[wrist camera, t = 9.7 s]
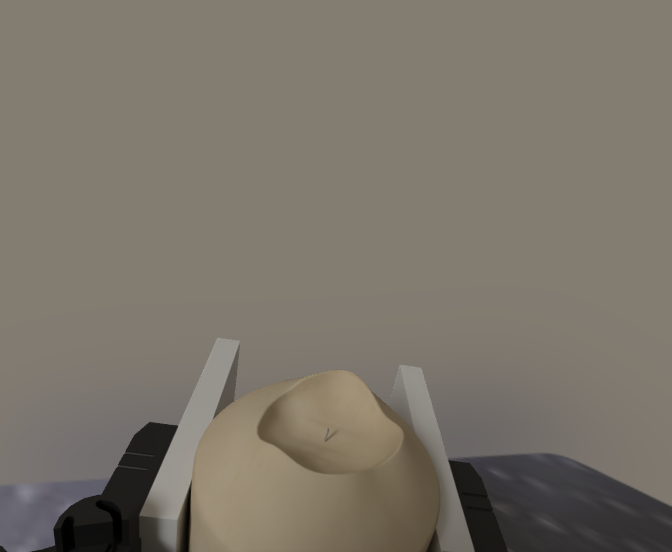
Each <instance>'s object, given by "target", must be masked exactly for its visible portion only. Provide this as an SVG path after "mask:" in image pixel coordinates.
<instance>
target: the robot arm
mask: <svg viewBox="0 0 672 552" xmlns="http://www.w3.org/2000/svg"><path fill="white" fill-rule="evenodd" d="M239 347H240V341H236V340H229V339H223V338H217V340H216V342H215V345H214V347H213V350H212V351H211V354H210V356H209V359H208V361H207V363H206V365H205V367H204V370H203V372H202V374H201V376H200V379H199V381H198V383H197V386H196V388H195V390H194V392H193V395H192V397H191V399H190V402H189V404H188V406H187V408H186V410H185V413H184V415H183V417H182V420H181V422H180V424H179V426H176V425H168V424H160V423H153V422H149V423H148V424H147V425H146V426H144V427H143V428H142V429H141V430H140V431H139V432H138V433H136V434H135V435H134V437H133V438H132V440H131V442H130V444H129V446H128V448H127V449H126V452H125V454H124V455H123V457H122V458H121V460H120V462H119V464H118V467H117V468H116V469H115V471H114V473H113V475H112V477H111V478H110V480H109V482H108V484H107V486H106V487H105V489H104V491H103V493H102V495H96V496H92V497H88V498H84V499H82V500H80V501H79V502H77V503H75V504H73V505H71V506H70V507H69V508H68V509H67V510H66V511H65V512H64V513H63V514H62V515H61V516H60V517H59V519H58V521H57V523H56V525H55V527H54V529H53V530H54V538H55V546H52V547H49V548H45V549H42V550H37V551H32V552H187V549H188V533H189V517H190V501H191V486H192V471H193V463H194V457H195V453H196V450H197V447H198V444H199V441H200V439H201V437H202V435H203V433H204V432H205V430H206V428H207V427H208V426H209V424H210V423H211V422H212V420H213V419H214V418H215V417H216V416H217V415H218V414H219V413H220V412H221V411H222V410H223V409H225V408H226V407H227V406H228V405H230V404H231V403H232V402H234V395H235V386H236V376H237V366H238V357H239ZM388 406H389V407H390V408H391V409H392V410H393V411H395V412H396V413H397V414H398V415H399V416H400V417H401V418H402V419H403V420H404V421H405V422H406V424H407V425H408V426H409V427H410V428H411V429H412V430H413V432H414V433H415V434H416V436H417V437H418V438H419V440H420V441H421V442H422V444H423V445H424V447H425V449H426V450H427V452H428V454H429V455H430V458H431V460H432V462H433V465H434V467H435V470H436V473H437V477H438V480H439V487H440V512H439V517H438V522H437V525H436V528H435V531H434V533H433V536H432V538H431V541H430V544H429V546H428V548H427V551H426V552H508V551H507V548H506V545H505V542H504V540H503V537H502V534H501V531H500V529H499V526H498V523H497V520H496V517H495V515H494V513H493V512H492V510H493V509H492V506H491V504H490V501H489V499H488V498H487V496H488V495H487V493H486V490H485V487H484V484H483V481H482V479H481V477H480V476H479V475H478V473H477V472H476V471H475V470H474V468H473V467H472V466H471V464H470V463H465V462H458V461H450V460H448V458H447V455H446V452H445V448H444V444H443V441H442V438H441V434H440V431H439V427H438V424H437V421H436V417H435V414H434V410H433V407H432V403H431V400H430V396H429V393H428V390H427V386H426V383H425V379H424V376H423V373H422V369H421V368H419V367H412V366H405V365H400V366H399V370H398V373H397V377H396V380H395V383H394V387H393V390H392V394H391V397H390V401H389V404H388ZM0 552H7V551H6V550H5V549H4V548H3V547H2V546H0Z"/></svg>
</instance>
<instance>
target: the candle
mask: <svg viewBox="0 0 672 552" xmlns="http://www.w3.org/2000/svg"><path fill="white" fill-rule="evenodd" d="M439 512H440V487H439V480H438V477H437V473H436V470H435V467H434V465H433V462H432V460H431V458H430V455H429V454H428V452H427V450H426V449H425V447H424V445H423V444H422V442H421V441H420V440H419V438H418V437H417V436H416V434H415V433H414V432H413V430H412V429H411V428H410V427H409V426H408V425H407V424H406V422H405V421H404V420H403V419H402V418H401V417H400V416H399V415H398V414H397V413H396V412H395V411H393V410H392V409H391V408H390V407H389V406H388V405H387V404H386V403H384V402H383V401H382V400H381V399H380V398H378V397H377V396H376V395H375V394H374V393H373V392H372V391H371V390H370V388H368V386H367V385H366V384H365V383H364V381H363V380H361V379H360V378H359V377H358V376H357V375H355V374H354V373H352V372H349V371H345V370H332V371H326V372H322V373H318V374H314V375H310V376H307V377H302V378H297V379H291V380H285V381H281V382H278V383H274V384H271V385H268V386H265V387H262V388H259V389H257V390H255V391H253V392H251V393H249V394H246V395H244V396H242V397H241V398H239V399H237V400H236V401H234V402H232V403H231V404H230V405H228V406H227V407H226V408H225V409H223V410H222V411H221V412H220V413H219V414H218V415H217V416H216V417H215V418H214V419H213V420H212V422H211V423H210V424H209V426H208V427H207V428H206V430H205V432H204V433H203V435H202V437H201V439H200V441H199V444H198V447H197V450H196V453H195V457H194V463H193V471H192V486H191V501H190V517H189V533H188V549H187V552H426V551H427V548H428V546H429V544H430V541H431V538H432V536H433V533H434V531H435V528H436V525H437V522H438V517H439Z"/></svg>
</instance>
